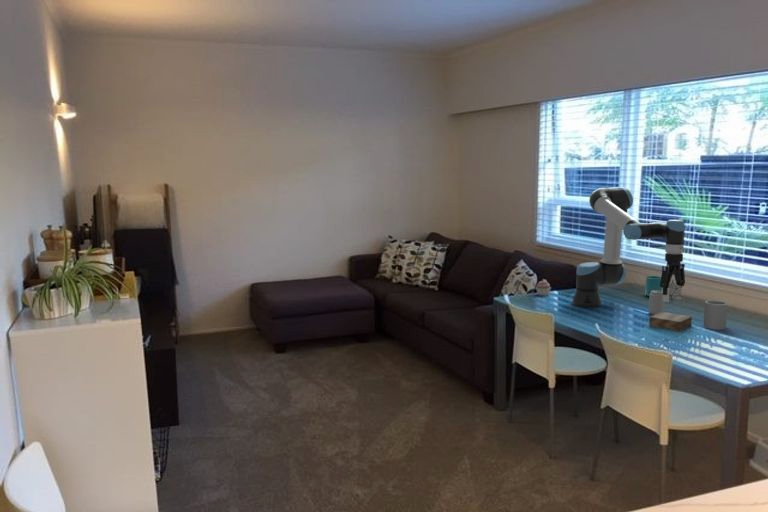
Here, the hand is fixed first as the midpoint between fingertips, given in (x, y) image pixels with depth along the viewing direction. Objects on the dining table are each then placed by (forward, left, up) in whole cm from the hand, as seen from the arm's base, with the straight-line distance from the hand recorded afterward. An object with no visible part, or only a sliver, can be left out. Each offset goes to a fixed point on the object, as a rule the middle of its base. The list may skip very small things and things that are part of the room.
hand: (671, 300), depth 282 cm
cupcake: (-83, 0, -13) cm, 84 cm away
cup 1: (-45, +52, -13) cm, 70 cm away
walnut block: (0, 0, -13) cm, 13 cm away
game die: (0, 0, -1) cm, 1 cm away
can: (-18, +15, -13) cm, 27 cm away
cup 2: (+13, +15, -13) cm, 23 cm away
